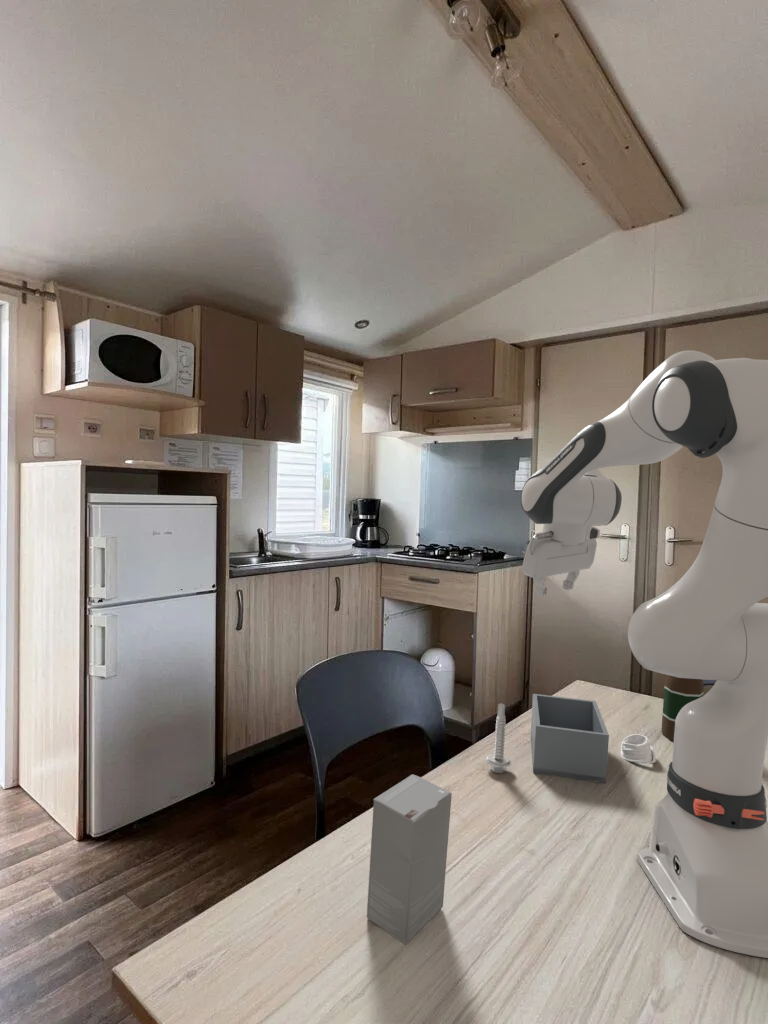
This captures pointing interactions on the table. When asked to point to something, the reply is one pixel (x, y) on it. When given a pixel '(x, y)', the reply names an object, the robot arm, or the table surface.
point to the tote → (568, 738)
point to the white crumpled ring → (637, 749)
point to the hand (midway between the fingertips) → (554, 591)
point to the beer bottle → (678, 700)
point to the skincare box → (408, 856)
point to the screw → (499, 745)
